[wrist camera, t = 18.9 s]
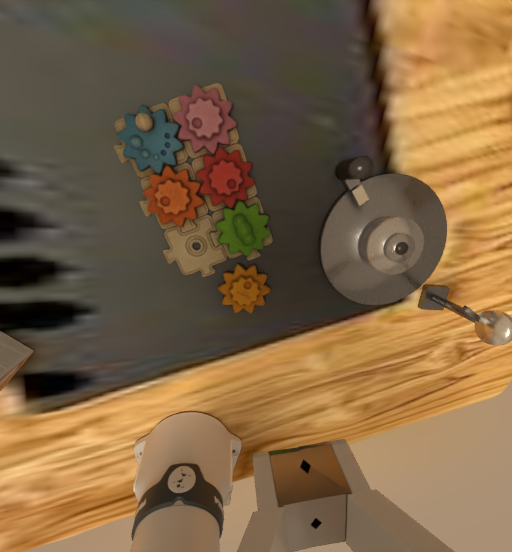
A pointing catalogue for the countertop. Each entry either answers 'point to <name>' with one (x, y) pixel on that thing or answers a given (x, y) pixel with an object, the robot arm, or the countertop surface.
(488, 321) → the lever with square base
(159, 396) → the countertop surface
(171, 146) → the gear puzzle
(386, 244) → the cover
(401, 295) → the turntable
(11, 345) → the small box
